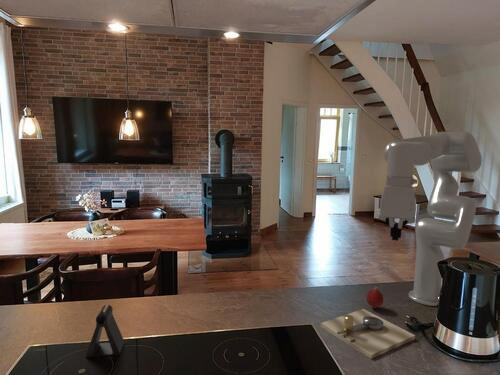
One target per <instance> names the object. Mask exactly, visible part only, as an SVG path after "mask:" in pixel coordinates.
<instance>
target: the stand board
mask: <svg viewBox="0 0 500 375" xmlns="http://www.w3.org/2000/svg"><path fill="white" fill-rule="evenodd" d="M345 315H350V316H352V317H353V326H354V325H358V324H362V323H363V318H364V317H366V316H371V317H376V318H379V319H381V320H382V321H383V329H381V330H371V329H368V328H366V329H362V330H359V331H355V332H352V333H347V332H346V333H342V334H340V333H339V330H343V329H344V316H345ZM320 327H321V328H322V329H324V330H325V331H327V332H329V333H330V334H332V335H333V336H335V337H336V338H337V339H339V340H341V341H342V342H344V343H346V344H347V345H349V346H350V347H351V348H353V349H355V350H356V351H357V352H359V353H361V354H362V355H364V356H365V357H367V358H368V359H370V360H372V359H374V358H376V357H379V356H381V355H383V354H385V353H387V352H389V351H392V350H394V349H396V348H398V347H401V346H403V345H406V344H407V343H410V342H412V341H414V340H415V339H416V335H415V334H413V333H411V332H410V331H407V330H405V329H403V328H401V327H399V326H398V325H396V324H393V323H392V322H389V321H388V320H386V319H385V318H382V317H380V316H378V315H376V314H375V313H372V312H370V311H368V310H366V309H365V308H361V309H359V310H356V311H352V312H350V313H347V314H344V315H341V316H338V317H334V318H332V319H329V320H325V321H323V322H321V323H320Z"/></svg>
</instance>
